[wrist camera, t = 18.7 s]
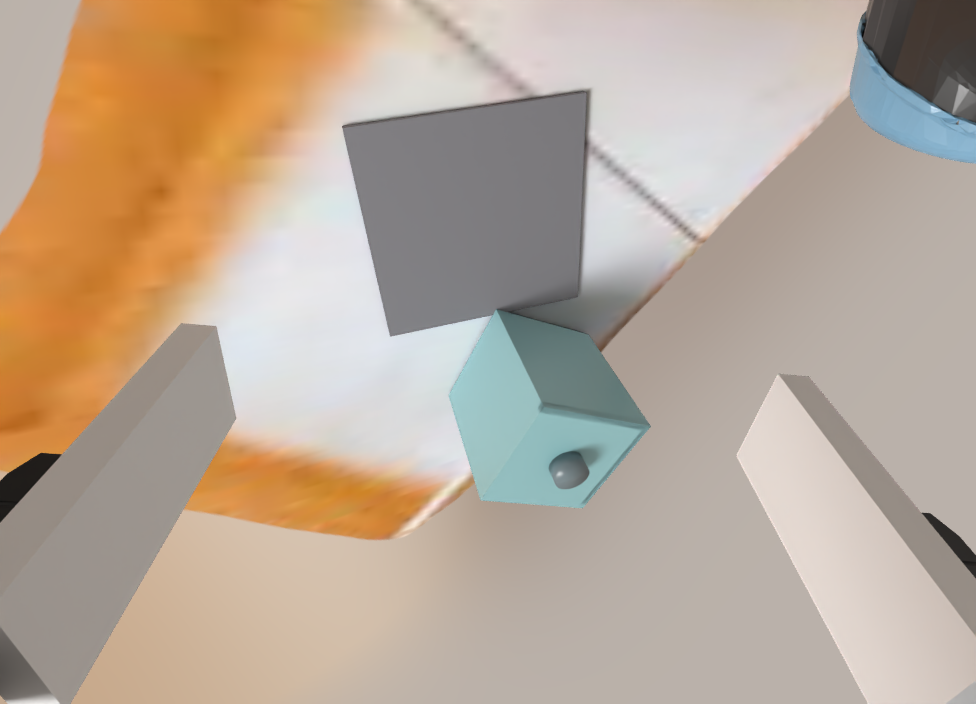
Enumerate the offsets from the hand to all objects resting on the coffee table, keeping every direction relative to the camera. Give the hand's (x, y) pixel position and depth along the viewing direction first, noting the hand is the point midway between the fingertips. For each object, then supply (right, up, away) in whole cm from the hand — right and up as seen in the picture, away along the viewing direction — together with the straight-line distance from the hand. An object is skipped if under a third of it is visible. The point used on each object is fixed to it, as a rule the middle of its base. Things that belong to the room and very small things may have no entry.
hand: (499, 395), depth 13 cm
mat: (-1, +12, +31) cm, 33 cm away
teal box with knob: (+3, 0, +41) cm, 42 cm away
